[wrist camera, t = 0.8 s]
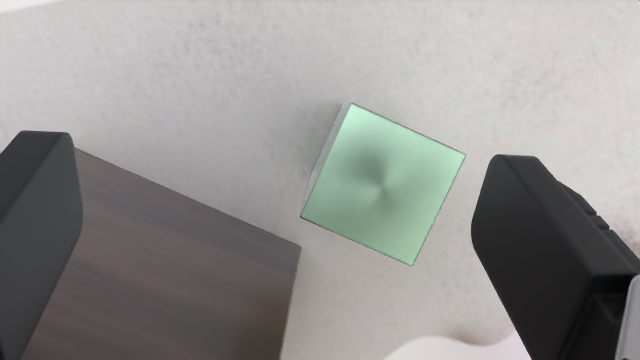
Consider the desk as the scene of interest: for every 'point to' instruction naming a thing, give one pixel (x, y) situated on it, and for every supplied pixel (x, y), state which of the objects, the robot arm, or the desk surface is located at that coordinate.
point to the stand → (164, 279)
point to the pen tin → (379, 183)
